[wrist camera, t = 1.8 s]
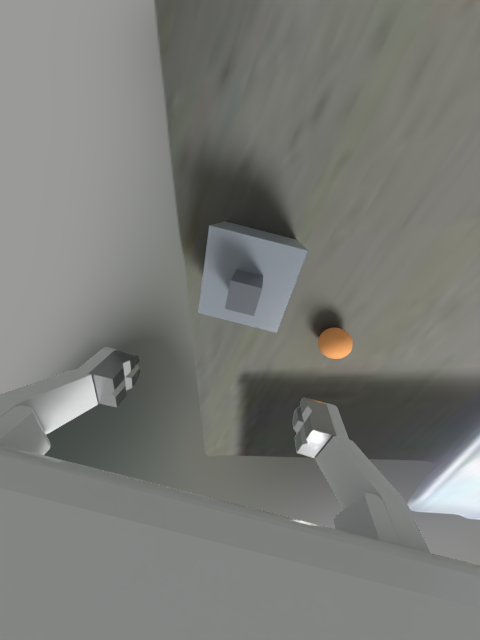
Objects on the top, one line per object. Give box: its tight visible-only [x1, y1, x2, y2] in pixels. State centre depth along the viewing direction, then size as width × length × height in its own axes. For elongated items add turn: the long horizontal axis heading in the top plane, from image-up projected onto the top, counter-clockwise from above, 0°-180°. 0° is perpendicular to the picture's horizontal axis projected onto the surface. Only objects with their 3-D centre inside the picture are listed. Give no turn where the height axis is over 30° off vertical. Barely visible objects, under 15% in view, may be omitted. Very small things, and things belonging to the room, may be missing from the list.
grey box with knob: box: [198, 221, 308, 333], centre depth 24 cm, size 10×10×13 cm
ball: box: [318, 328, 353, 359], centre depth 32 cm, size 5×5×5 cm
